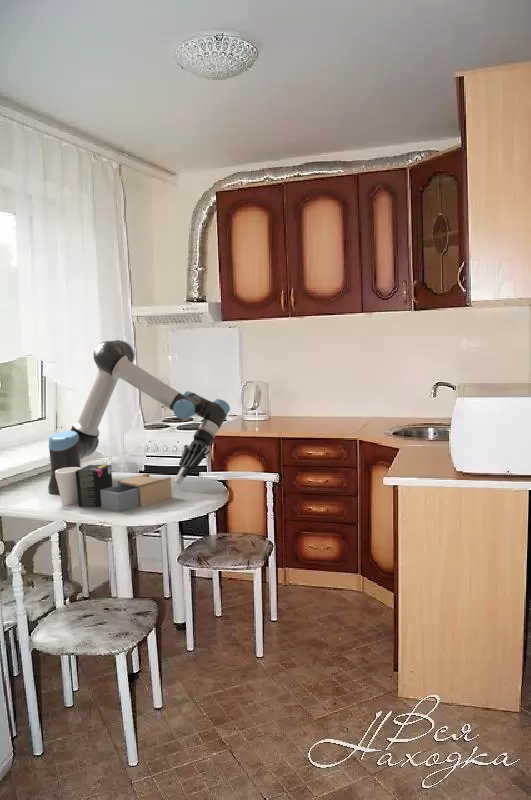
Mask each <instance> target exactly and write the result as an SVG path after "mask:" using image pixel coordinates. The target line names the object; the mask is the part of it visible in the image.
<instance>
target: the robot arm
mask: <svg viewBox="0 0 531 800" xmlns="http://www.w3.org/2000/svg"><path fill="white" fill-rule="evenodd" d="M135 357H136V356H135V351H134V348H133V346H132V345H131V344H130V343H129V342H126V341H125V340H120V339H119V340H118V339H116V340H106V341H102V342H100V343H99V344H97V346H95V348H94V351H93V360H94V364H96V369H98V372H97V374H96V377H95V380H94V381H93V385H92V387H91V388H90V392H89V394H88V397H87V400H86V401H85V404H84V407H83V409H82V412H81V414H80V416H79V419H78V420H77V421H75V422H74V423H73V424H72V427H71V429H70V430H64V431H60V432H55V433H53V434H51V435H50V437H49V438H48V451H49V458H50V459H49V461H50V470H51V473H50V478H49V481H48V482H49V483H48V486H47V487H48V493H49V494H53V495H60V493H59V488H58V484H57V480H56V477H55V471H56V470H58V469H62V468H69V467H79V468H82V467H81V465H82V464H81V459H84V458H86V457H89V456H91V455H92V454H93V453H94V452H95V451H96V450H97V449H98V447H99V436H100V431H99V426H100V424H101V422H102V420H103V419H102V418H103V417H104V413H106V409H107V407H108V405H109V402H110V400H111V397H112V395H113V392H114V390H115V387H116V385H117V384H118V380H119V379H122V380H123V381H124V382H126V383H128V384H129V385H131V386H133V387H134V388H135V389H137V390H138V391H140V392H142V393H143V394H145V395H147V396H149V398H152V399H153V400H155V401H156V402H158V403H160V404H161V405H162V406H164V407H165V408H167V409H169V410H170V411H173V414H174V415H175V417H176V418H178V419H181V420H185V419H190V418H192V416H194V415H196V416H198V417H200V418H202V421H201V422H200V424H199V426H198V429H197V430H196V431H195V433H194V435H193V441H192V442H190V444H189V445H188V444H184V446H183V447H184V449H183V451H182V455H181V456H180V460H179V463H178V465H179V466H180V468H179V470H178V472H177V474H176V476H175V478H174V480H173V482H175V483H176V484H177V485H178V486H181V485H182V483H183V482H184V480H185V479H186V478H187V477H188V474H189V473H190V472H191V471H192V470H193V471H194V470H196V469H197V467H198V466H199V465H200V464H201V462H202V461H203V460H204V459H205V458H206V456H207V455H208V454H210V453H211V451H210V450H209V448H208V447H210V446H211V445H212V442H213V441H214V438H215V437H216V435H217V433H218V432H219V430H220V428H221V427H222V425H223V423H224V421H225V420H226V419H227V416H228V414H229V412H230V410H231V407H230V404H229V403H228V402H227V401H225V400H224V399H219V398H216V399H215V400H213V401H211V400H208V399H207V398H205V397H203V396H200V395H199V394H197V393H196V392H192V391H189V390H187V391H185V392H184V393H183V394H182V393H181V392H179V391H178V390H176V389H175V388H173V387H172V386H170V385H169V384H167V383H165V382H163V381H162V380H161V379H159V378H157V377H156V376H154V375H152V374H151V373H149V372H148V371H146V370H145V369H142V368H141V367H139V366H138V365H136V364H135V363H134V361H135Z"/></svg>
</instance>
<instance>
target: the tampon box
mask: <svg viewBox="0 0 531 800" xmlns="http://www.w3.org/2000/svg"><path fill="white" fill-rule="evenodd" d="M75 473H76V484H77V495H78V502H77V504H78V507H79V508H101V495H100V490H102V489H106V488H110V487H113V475H112V474H113V472H112V465H111V464H96V465H95V464H89V465H86V466H84V467H81V469H79V470H77V471H75Z"/></svg>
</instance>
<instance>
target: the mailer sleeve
mask: <svg viewBox="0 0 531 800" xmlns="http://www.w3.org/2000/svg"><path fill="white" fill-rule="evenodd" d="M117 484H118V485H121V484H124V485H129V486H135V487H139V493H140V506H139V507H141V508H142V507H146V506H149V505H153V504H155V503H159V502H162V501H166V500H169V499H172V498H173V493H172V492H173V491H172V479H171V476H169V477H165V478H156V477H155V478H154V477H151V476H150V473H144V474H140V475H137V476H133V477H128V478H124V479H121V480H117Z"/></svg>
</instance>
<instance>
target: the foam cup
mask: <svg viewBox="0 0 531 800" xmlns="http://www.w3.org/2000/svg"><path fill="white" fill-rule="evenodd" d="M81 468H82V467H81ZM81 468H79V467H69V468H62V469H58V470H56V471H55V477H56V480H57V484H58V488H59V493H60V494H59V496H60V502H61V505H62V506H63V507H66V506H68V505H70V506H71V505H73V504H78V495H77V484H76V473H75V471H77V470H79V469H81Z"/></svg>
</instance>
